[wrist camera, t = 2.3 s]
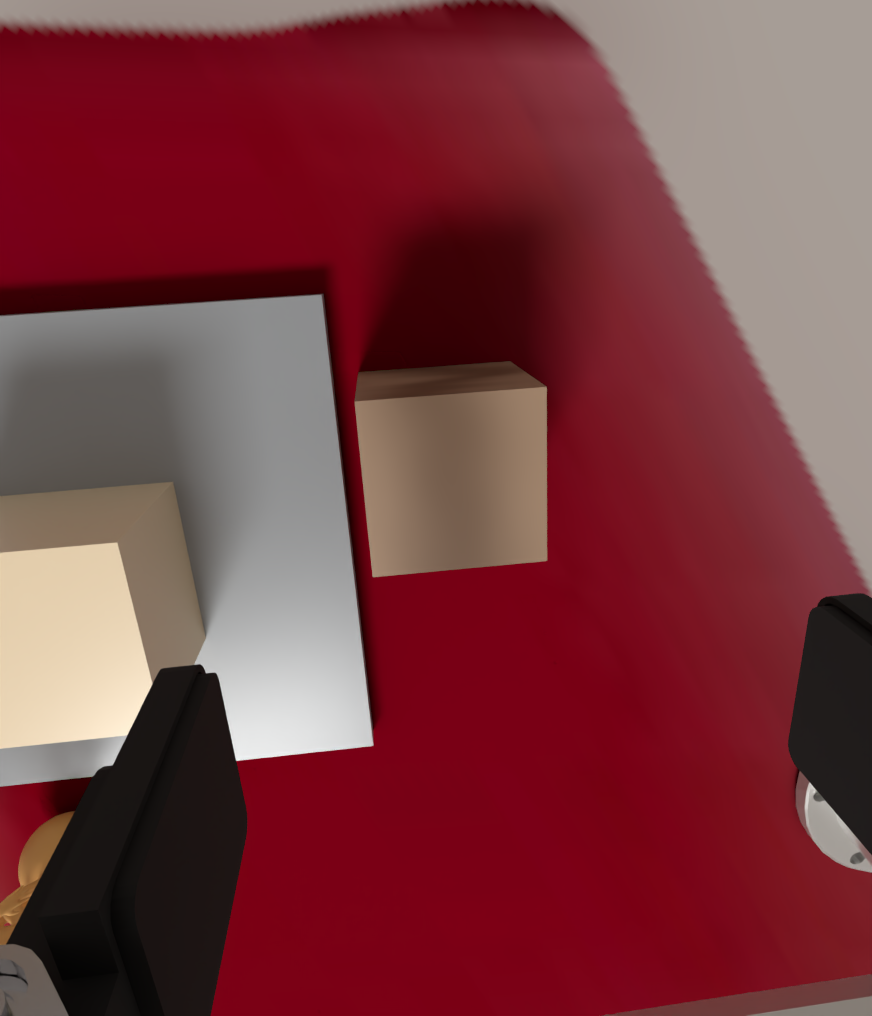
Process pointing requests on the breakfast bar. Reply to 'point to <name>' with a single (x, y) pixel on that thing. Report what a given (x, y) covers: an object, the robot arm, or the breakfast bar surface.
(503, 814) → the breakfast bar surface
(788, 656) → the breakfast bar surface
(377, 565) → the walnut cube
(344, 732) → the base plate
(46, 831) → the figurine
